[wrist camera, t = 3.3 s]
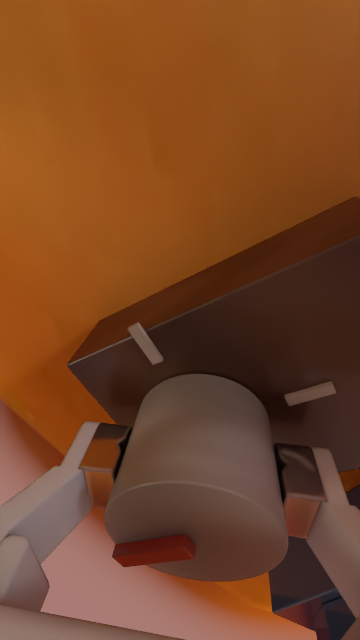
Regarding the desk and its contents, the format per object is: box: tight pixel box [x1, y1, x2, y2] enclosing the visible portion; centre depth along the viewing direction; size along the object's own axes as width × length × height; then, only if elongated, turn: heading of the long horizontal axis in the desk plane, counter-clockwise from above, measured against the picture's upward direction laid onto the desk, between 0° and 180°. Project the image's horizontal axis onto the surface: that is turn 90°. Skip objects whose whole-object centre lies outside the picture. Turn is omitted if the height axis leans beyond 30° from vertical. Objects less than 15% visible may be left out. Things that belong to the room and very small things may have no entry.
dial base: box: [67, 197, 360, 472], centre depth 11 cm, size 11×9×3 cm
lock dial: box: [104, 374, 288, 582], centre depth 9 cm, size 4×4×4 cm
